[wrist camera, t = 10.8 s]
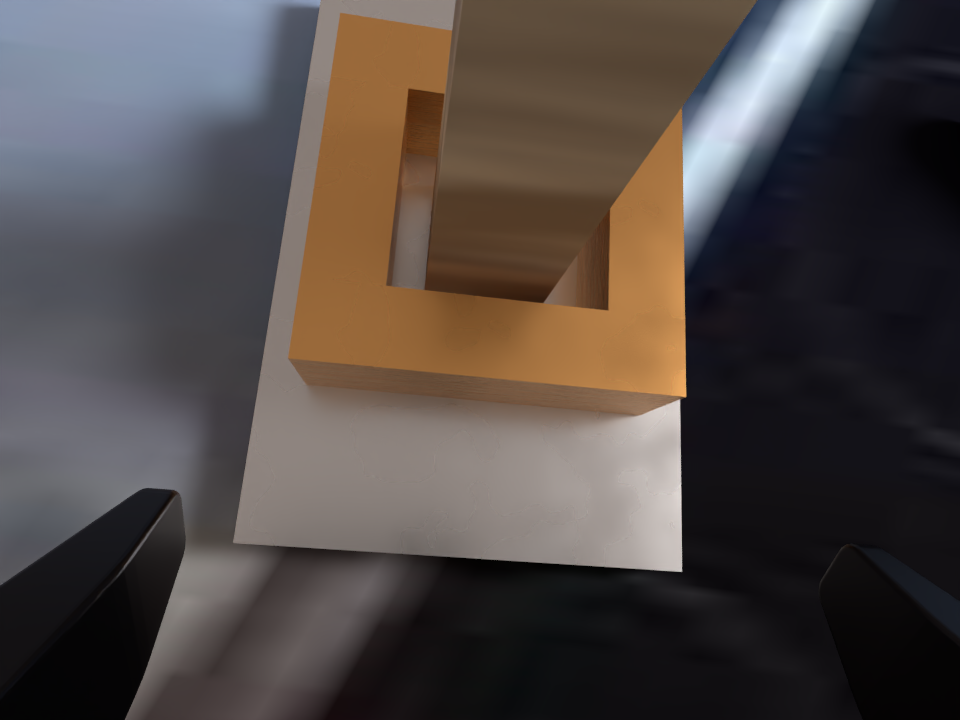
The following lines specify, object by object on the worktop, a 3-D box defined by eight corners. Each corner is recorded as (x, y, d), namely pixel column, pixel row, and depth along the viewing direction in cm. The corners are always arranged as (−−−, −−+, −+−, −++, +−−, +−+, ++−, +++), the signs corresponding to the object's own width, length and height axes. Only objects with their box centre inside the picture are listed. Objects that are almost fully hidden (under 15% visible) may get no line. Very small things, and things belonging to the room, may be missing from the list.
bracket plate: (659, 567, 18) (740, 583, 14) (246, 540, 17) (196, 549, 13) (657, 59, 23) (719, -47, 19) (330, 6, 22) (314, -120, 17)
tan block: (541, 305, 18) (853, -138, 6) (424, 293, 18) (490, -210, 5) (545, 199, 19) (826, -382, 7) (433, 185, 19) (510, -461, 6)
